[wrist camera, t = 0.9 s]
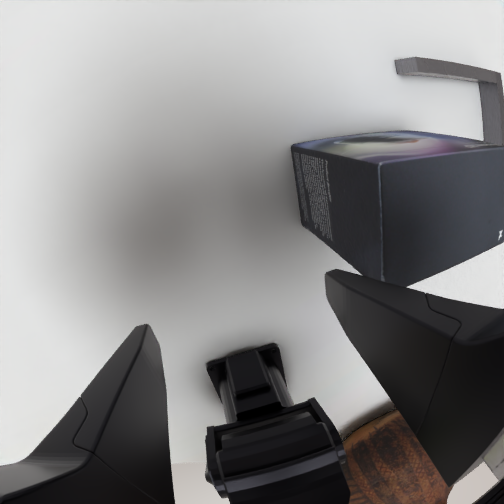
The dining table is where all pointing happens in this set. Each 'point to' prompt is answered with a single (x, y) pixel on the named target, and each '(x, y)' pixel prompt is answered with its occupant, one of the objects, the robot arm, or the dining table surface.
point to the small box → (402, 200)
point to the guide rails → (491, 91)
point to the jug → (390, 465)
